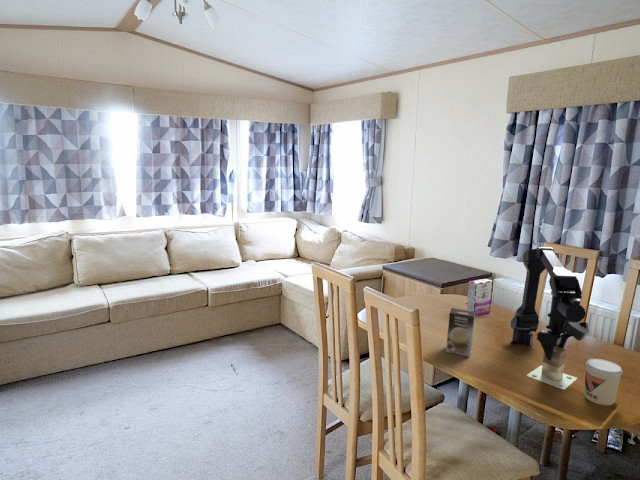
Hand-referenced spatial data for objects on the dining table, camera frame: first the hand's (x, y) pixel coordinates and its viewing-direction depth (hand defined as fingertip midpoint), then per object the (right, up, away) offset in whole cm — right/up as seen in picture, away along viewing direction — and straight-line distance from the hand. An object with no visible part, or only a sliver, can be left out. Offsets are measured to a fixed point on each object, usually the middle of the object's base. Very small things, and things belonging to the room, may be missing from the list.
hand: (554, 355), depth 146 cm
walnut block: (0, -3, 0) cm, 3 cm away
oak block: (0, -7, +1) cm, 8 cm away
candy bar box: (-2, +3, +66) cm, 66 cm away
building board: (0, -8, +2) cm, 8 cm away
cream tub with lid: (+7, -11, -11) cm, 18 cm away
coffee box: (-25, -4, +22) cm, 34 cm away
